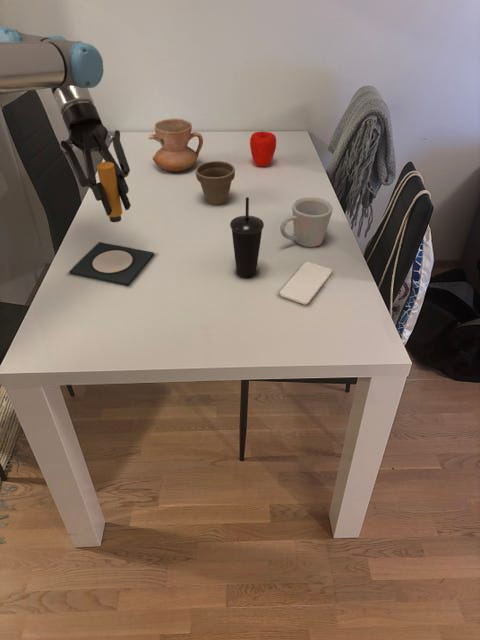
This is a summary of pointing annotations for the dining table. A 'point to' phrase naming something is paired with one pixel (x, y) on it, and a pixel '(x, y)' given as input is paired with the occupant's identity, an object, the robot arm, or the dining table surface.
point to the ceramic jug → (175, 144)
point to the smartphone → (305, 283)
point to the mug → (308, 221)
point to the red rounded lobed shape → (262, 147)
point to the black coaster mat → (112, 263)
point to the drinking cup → (246, 242)
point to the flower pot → (215, 180)
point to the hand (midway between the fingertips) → (118, 210)
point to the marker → (110, 189)
